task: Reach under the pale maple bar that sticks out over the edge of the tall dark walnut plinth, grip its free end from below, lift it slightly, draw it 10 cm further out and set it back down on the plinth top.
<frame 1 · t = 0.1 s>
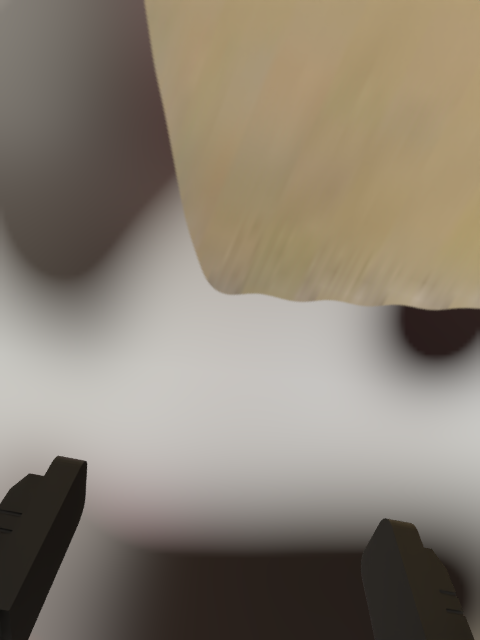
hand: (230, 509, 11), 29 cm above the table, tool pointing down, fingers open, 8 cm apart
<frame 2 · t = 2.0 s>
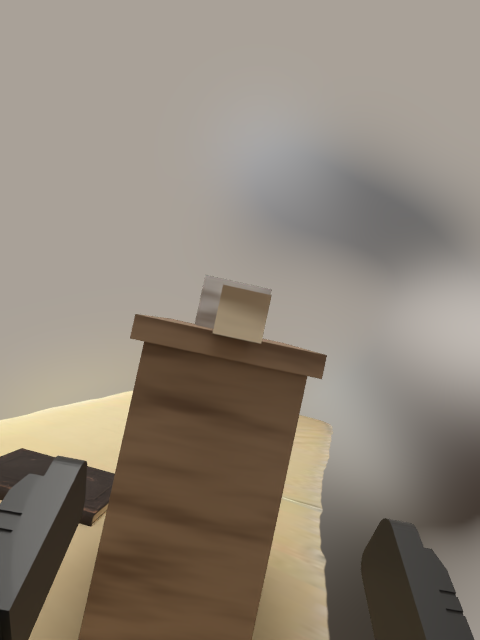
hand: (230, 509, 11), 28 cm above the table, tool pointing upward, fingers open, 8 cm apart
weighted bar: (236, 338, 25), point 32 cm above the table, touching plinth
hardcover book: (49, 491, 70), on the table
plinth: (166, 620, 45), on the table
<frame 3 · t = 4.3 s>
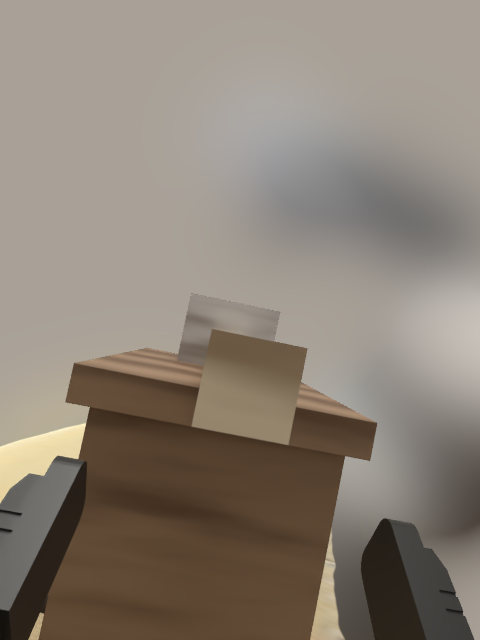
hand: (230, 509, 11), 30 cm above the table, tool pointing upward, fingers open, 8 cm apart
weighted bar: (240, 435, 13), point 32 cm above the table, touching plinth
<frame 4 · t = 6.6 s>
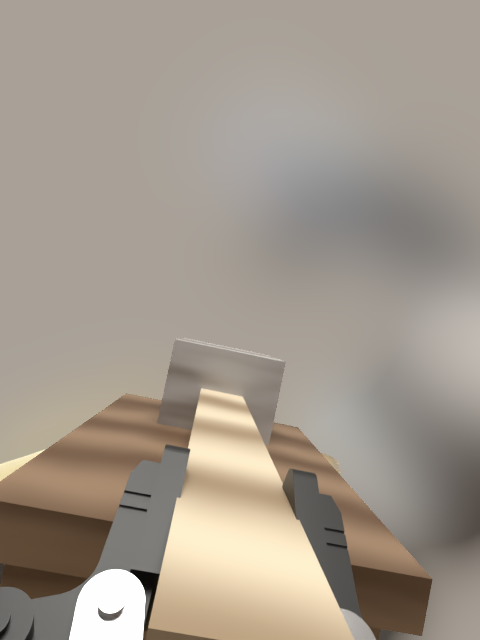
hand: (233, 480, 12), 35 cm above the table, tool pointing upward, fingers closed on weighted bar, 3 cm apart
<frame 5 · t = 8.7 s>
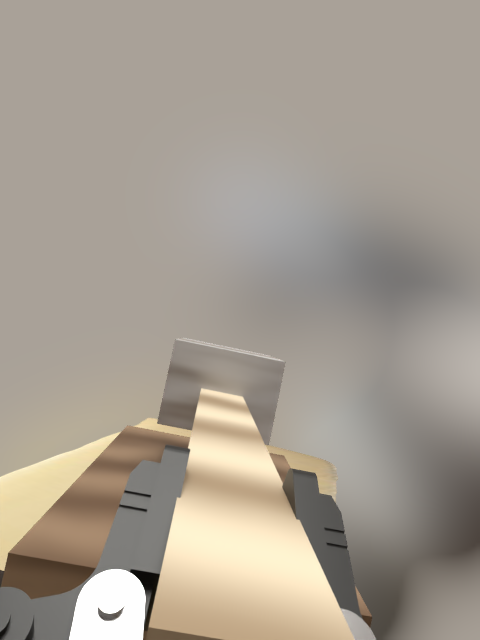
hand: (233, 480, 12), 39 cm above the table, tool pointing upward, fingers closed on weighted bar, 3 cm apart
when the fingers open (35 cm above the table, at t = 11.2 s): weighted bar stays where it is, resting on plinth.
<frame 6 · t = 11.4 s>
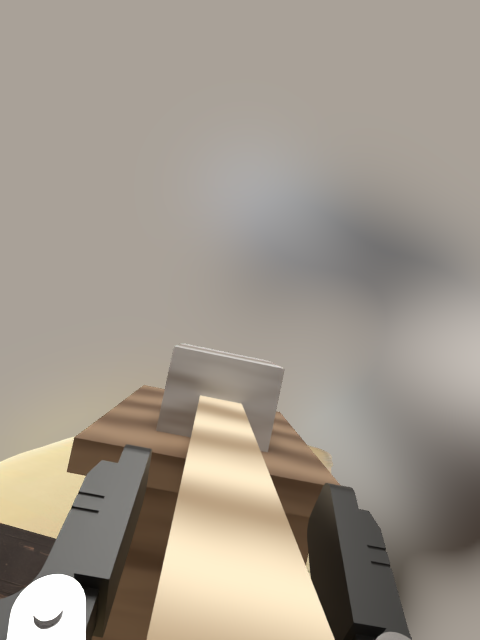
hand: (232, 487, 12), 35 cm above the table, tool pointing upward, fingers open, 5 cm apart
hardcover book: (7, 577, 60), on the table
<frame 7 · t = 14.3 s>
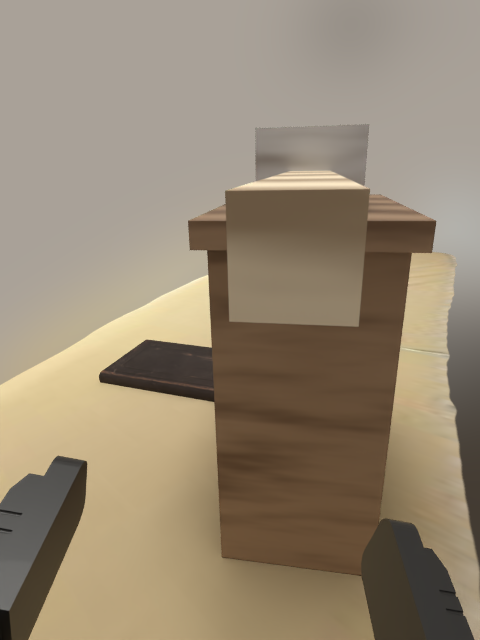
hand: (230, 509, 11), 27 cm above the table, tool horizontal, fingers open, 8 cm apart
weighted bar: (292, 324, 10), point 32 cm above the table, touching plinth
hardcover book: (178, 374, 78), on the table
plinth: (298, 484, 50), on the table
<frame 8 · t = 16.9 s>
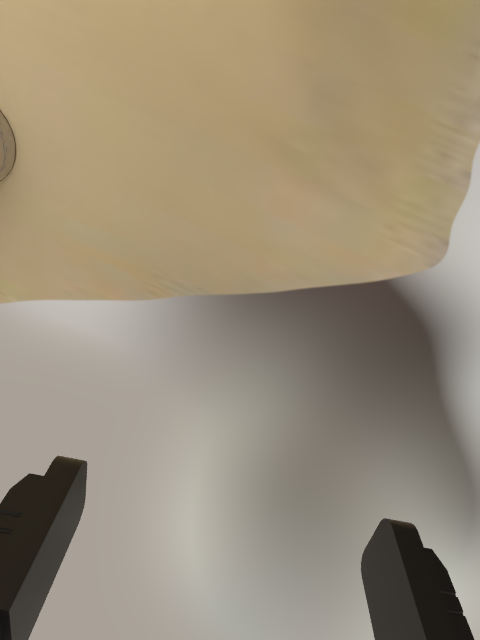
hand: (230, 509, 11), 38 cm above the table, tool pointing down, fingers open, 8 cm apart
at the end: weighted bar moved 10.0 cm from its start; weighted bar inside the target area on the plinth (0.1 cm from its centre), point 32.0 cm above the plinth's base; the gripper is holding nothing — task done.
